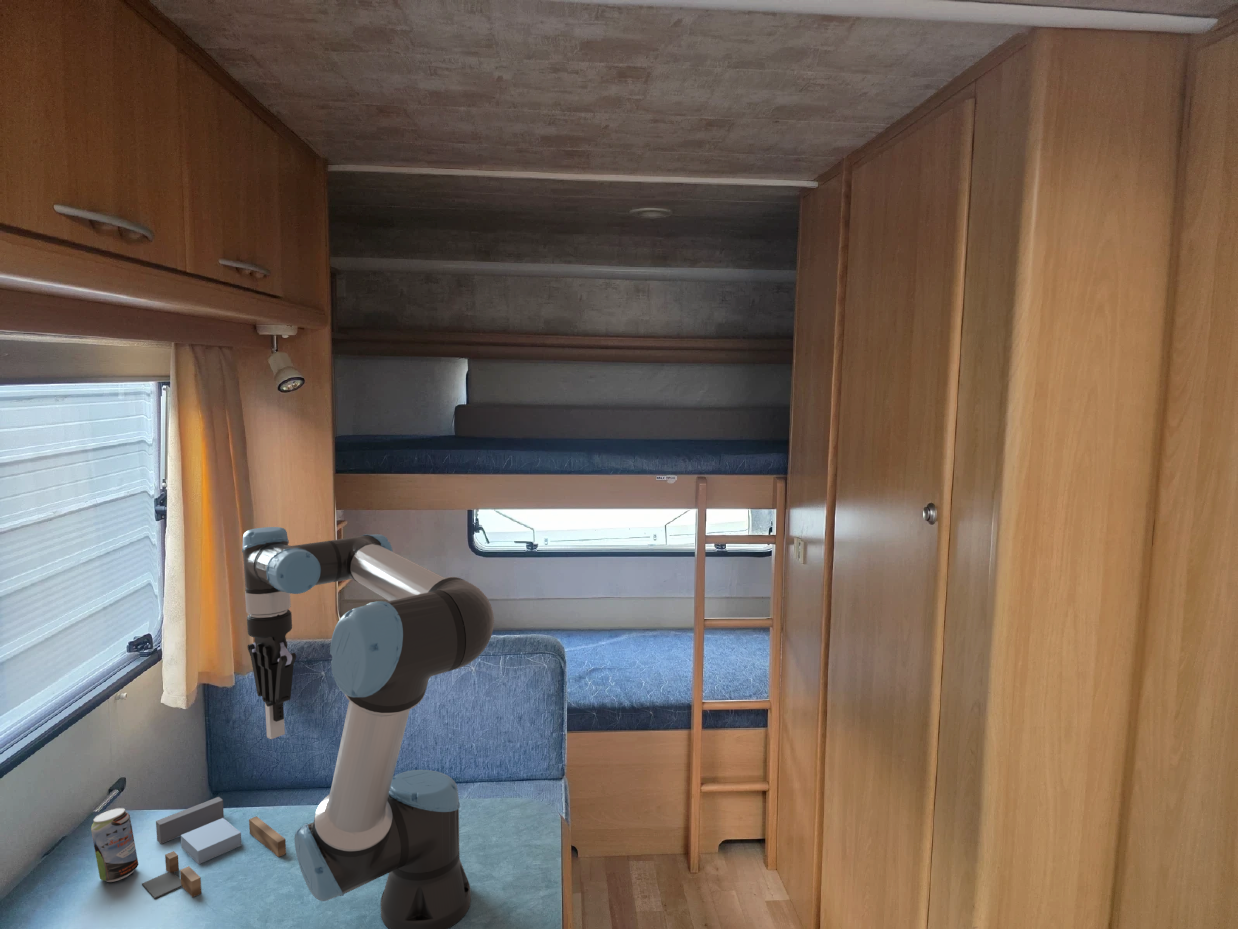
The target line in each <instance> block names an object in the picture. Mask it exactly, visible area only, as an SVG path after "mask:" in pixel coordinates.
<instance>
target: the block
mask: <svg viewBox="0 0 1238 929" xmlns="http://www.w3.org/2000/svg"><path fill="white" fill-rule="evenodd" d="M180 844H181V845H180V846H181V849H182V850H183V851H184V852H185V853H186V854H187V855H188V856H189V857H190V858H191V859H192V860H194V862H195V863H197V864H198V865H201V864H202V863H205V862H207V861H209V860H211V859H213V858H216V857H218V856H221V855H224V854H225V853H228V852H229V851H232V850H235V849H237V848H239V847H241V846H243V844H242V832H241V831H240V830H239V829H237V828H236V827H235V826H233V825H232V824H231V822H229V821H228V820H227V819H226V818H221V819H219V820H216V821H214V822H211V823H209V824H207V825H204V826H202V827H199V828H197V829H194V830H192V831H190V832H187V833H185V834H182V835H181V836H180Z"/></svg>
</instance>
